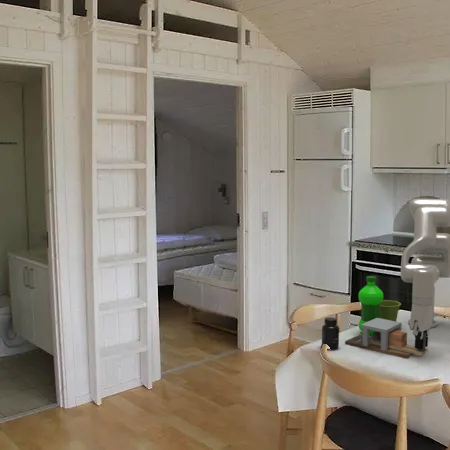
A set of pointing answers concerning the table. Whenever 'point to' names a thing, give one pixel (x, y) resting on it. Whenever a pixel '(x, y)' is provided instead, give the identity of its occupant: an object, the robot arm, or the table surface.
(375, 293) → the plastic bottle
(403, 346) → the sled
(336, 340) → the supplement bottle
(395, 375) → the table surface
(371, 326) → the tunnel
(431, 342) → the table surface
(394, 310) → the plant pot
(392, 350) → the track board
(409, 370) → the table surface
